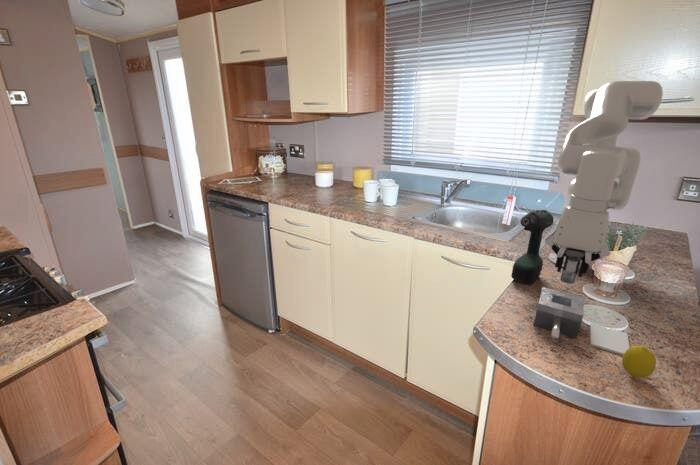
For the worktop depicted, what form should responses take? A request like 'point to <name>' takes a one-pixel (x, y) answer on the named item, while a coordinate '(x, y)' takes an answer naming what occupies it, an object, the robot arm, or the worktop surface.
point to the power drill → (532, 247)
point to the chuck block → (559, 313)
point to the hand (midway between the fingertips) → (569, 271)
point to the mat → (608, 339)
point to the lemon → (639, 361)
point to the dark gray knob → (571, 264)
